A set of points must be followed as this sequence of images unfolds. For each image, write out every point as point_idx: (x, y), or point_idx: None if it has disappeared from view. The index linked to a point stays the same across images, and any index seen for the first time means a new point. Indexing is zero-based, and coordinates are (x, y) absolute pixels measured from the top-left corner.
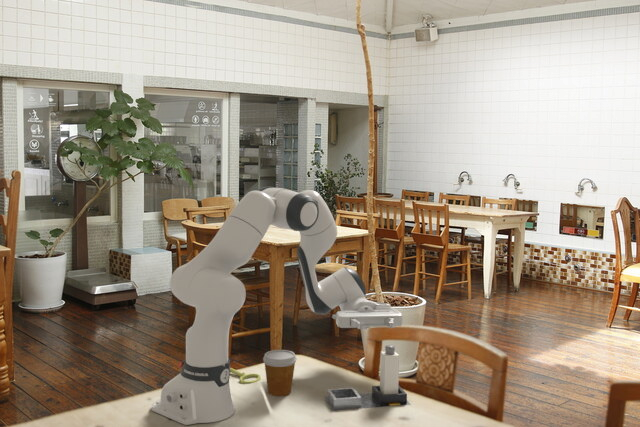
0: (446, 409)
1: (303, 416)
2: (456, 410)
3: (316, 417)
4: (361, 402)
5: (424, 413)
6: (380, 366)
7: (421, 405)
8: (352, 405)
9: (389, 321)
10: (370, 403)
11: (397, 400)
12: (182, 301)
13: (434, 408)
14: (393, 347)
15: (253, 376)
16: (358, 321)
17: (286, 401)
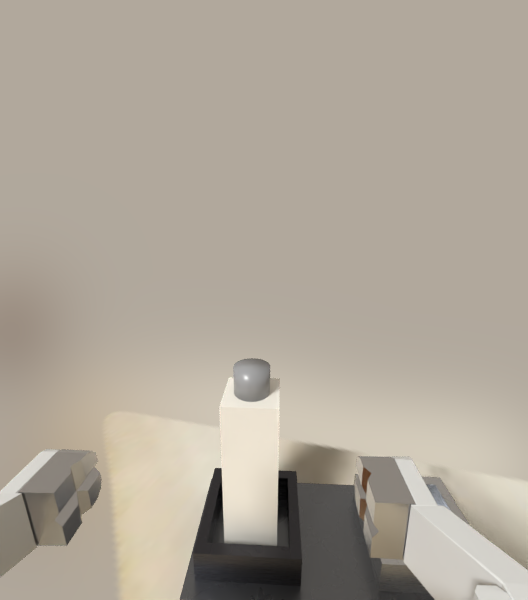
0: (134, 462)
1: (520, 503)
2: (119, 453)
3: (477, 490)
4: (350, 522)
5: (199, 455)
6: (278, 462)
7: (173, 495)
8: None
9: (58, 472)
10: (322, 509)
11: None
12: None
13: (156, 472)
14: (245, 359)
15: None
16: (418, 510)
17: None
